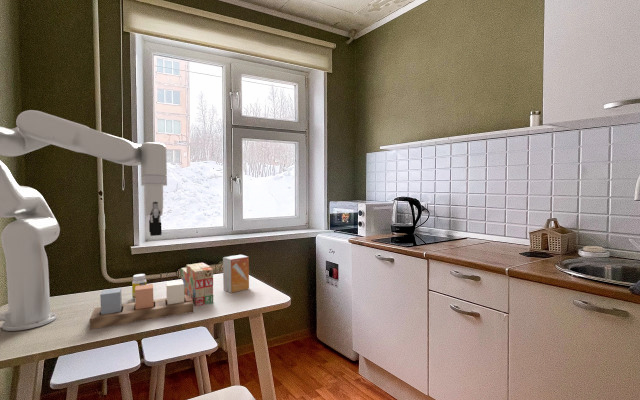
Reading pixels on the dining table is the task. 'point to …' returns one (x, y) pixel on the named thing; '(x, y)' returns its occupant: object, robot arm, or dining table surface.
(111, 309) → the button slate
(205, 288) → the stack of blocks
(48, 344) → the dining table surface
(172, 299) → the button cream
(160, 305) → the button board
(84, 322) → the dining table surface
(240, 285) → the small box
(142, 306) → the peach block
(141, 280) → the supplement bottle
